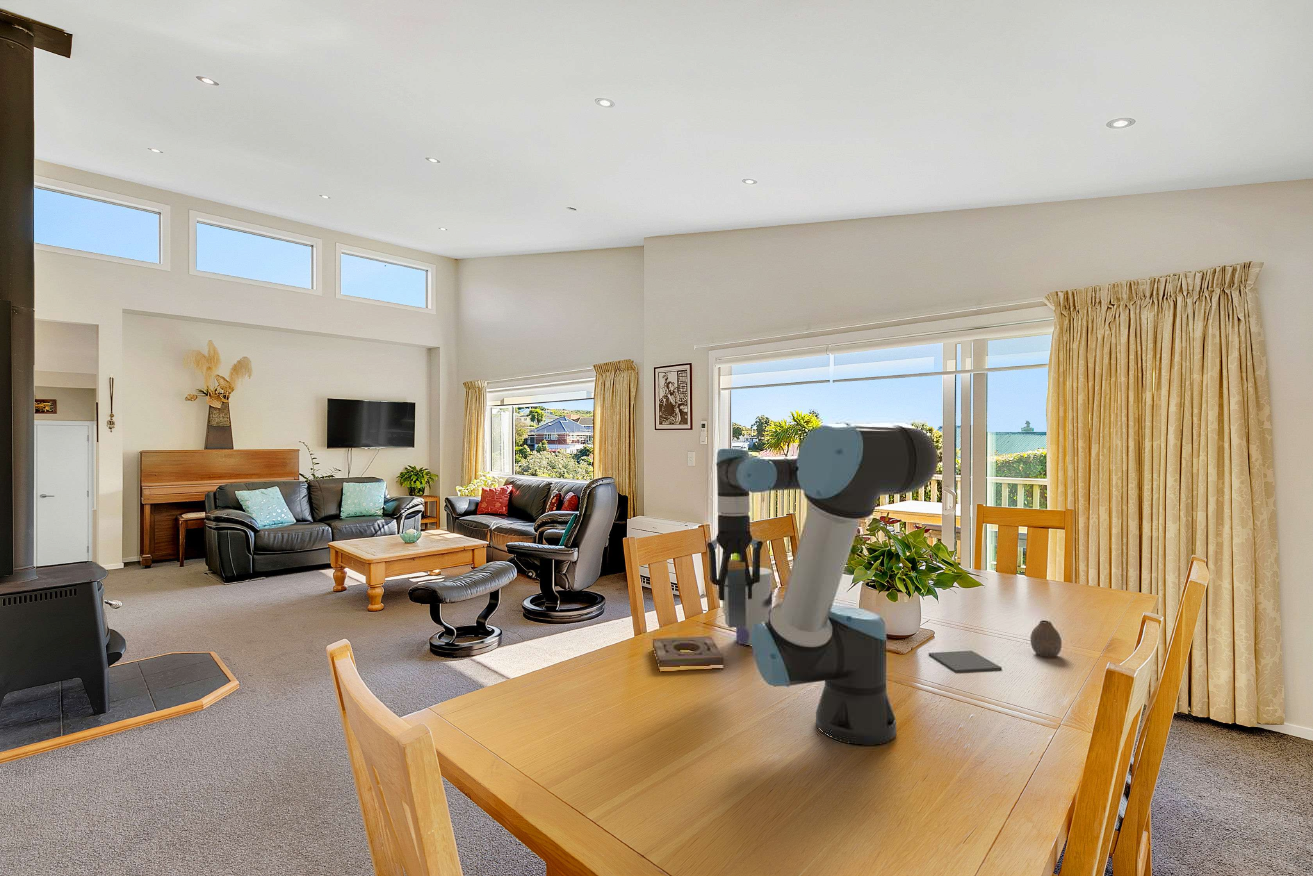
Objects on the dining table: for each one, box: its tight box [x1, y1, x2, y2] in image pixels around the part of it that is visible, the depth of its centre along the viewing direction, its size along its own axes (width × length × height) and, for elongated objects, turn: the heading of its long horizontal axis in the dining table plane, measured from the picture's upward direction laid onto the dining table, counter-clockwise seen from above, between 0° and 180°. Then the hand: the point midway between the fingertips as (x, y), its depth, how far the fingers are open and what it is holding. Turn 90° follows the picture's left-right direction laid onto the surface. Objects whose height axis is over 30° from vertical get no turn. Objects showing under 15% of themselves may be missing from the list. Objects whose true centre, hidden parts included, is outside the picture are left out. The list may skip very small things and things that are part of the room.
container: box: [735, 566, 773, 646], centre depth 176 cm, size 10×10×20 cm
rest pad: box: [928, 650, 1003, 673], centre depth 158 cm, size 12×12×1 cm
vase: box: [1030, 619, 1063, 659], centre depth 163 cm, size 7×7×9 cm
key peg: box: [724, 558, 746, 629], centre depth 147 cm, size 4×4×15 cm
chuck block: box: [652, 635, 725, 667], centre depth 162 cm, size 16×16×3 cm
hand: (735, 613), depth 147 cm, fingers closed on key peg, 4 cm apart
